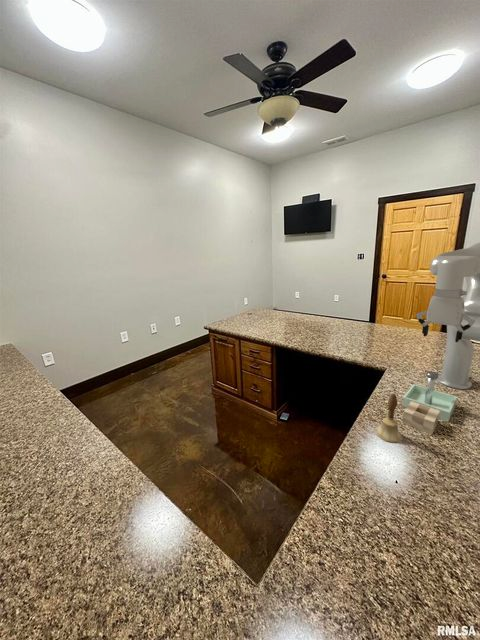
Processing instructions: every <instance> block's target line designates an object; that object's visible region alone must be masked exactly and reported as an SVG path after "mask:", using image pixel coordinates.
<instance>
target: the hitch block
mask: <svg viewBox="0 0 480 640" xmlns="http://www.w3.org/2000/svg"><path fill="white" fill-rule="evenodd" d="M439 414H440V410H437V409H434V408H431V407H428V406H425V405H422V404H419V403H416V402H413V401H411V402H410V404H409V405H408V406H407V407H405V409H404V411H403V414H402V423H401V424H403V425H405V426H409V427H410V428H414V429H416V430H419V431H421V432H424V433H426V434H428V435H433V434H434V431H435V429H436V427H437V426H438V423H439V420H440V419H439Z"/></svg>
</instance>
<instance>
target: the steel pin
mask: <svg viewBox="0 0 480 640" xmlns="http://www.w3.org/2000/svg"><path fill="white" fill-rule="evenodd" d="M439 375H440V374H439V373H438V372H435V371H431V370H430V371H429V370H428V371H426V373H425V376H426V377H427V382H426V387H425V388H426V394H425V401H424V403H425V404H428V405H431V404H432V398H433V392H434V390H435V385H436V381H437V378H438V376H439Z"/></svg>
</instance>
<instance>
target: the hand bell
mask: <svg viewBox="0 0 480 640" xmlns="http://www.w3.org/2000/svg"><path fill="white" fill-rule="evenodd" d="M397 405H398V398H397V395H396V394H395V393H391V394H390V396H389V398H388V401H387V407H388V415H387V417H384V418H383V419H382V421H381V424H380V425H378V426H377V427H376V428H375V429H374V433H375V434H376V436H377V437H378V438H379V439H381V440H383V441H385V442H388V443H393V444H395V443H396V444H397V443H401V442H402V440H403V434H402V433H401V432H400V430H399V425H398V421H396V420H395V419H394V416H395V410H396V409H397V407H398V406H397Z"/></svg>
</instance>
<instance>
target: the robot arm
mask: <svg viewBox="0 0 480 640" xmlns="http://www.w3.org/2000/svg"><path fill="white" fill-rule="evenodd" d="M429 271H430V274H432V275H433V276H435V277H436V279H435V285H434V286H435V289H434V292H433V293H434V294H433V295H432V296H431V299H430V301H429V305H428V308H427V310H424V311H421V312H417V313H416V314H415V317H416V319H417V321H418V323H420V325H421V326H422V332H421V333H422V335H423V337H427V336H428V335H429V328H430V326H429V324H436V325H442V326H443V325H444V326H446V332H447V334H446V347H445V353H444V359H443V363H442V371H441V373H440V374H439V376H438V378H437V379H436V381H438V383H440V384H441V385H443V386H447V387H449V388H451V389H456V390H457V389H458V390H468V389H471V388H472V385H473V383H472V382H471V381H470V380H469V379H470V378H469V377H470V373H471V366H472V363H473V356H474V354H475V353H474V352H475V348H474V345H473V344H472V341H475V342H480V242H477V243H475V244H473V245H470V246H469V247H466V248H461V249H457V250H451V251H445V252H442V253H440V254H438V255H436V256H435V257H434V258H433V259H432V260H431V262H430V265H429ZM464 281H465V282H466V283H465V284H466V288H465V290H464V289H463V286H464ZM422 316H426V319H424V318H423V317H422Z"/></svg>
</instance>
